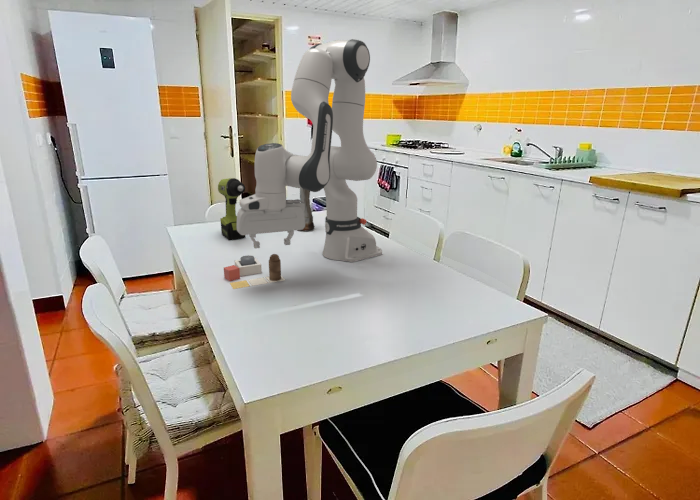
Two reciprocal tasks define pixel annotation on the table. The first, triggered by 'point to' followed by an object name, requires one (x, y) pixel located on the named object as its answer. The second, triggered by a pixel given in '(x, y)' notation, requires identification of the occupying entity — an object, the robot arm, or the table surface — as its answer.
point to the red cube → (231, 273)
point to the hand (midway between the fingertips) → (272, 246)
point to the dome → (247, 260)
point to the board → (253, 282)
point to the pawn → (274, 267)
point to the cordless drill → (230, 207)
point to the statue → (306, 210)
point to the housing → (249, 268)
